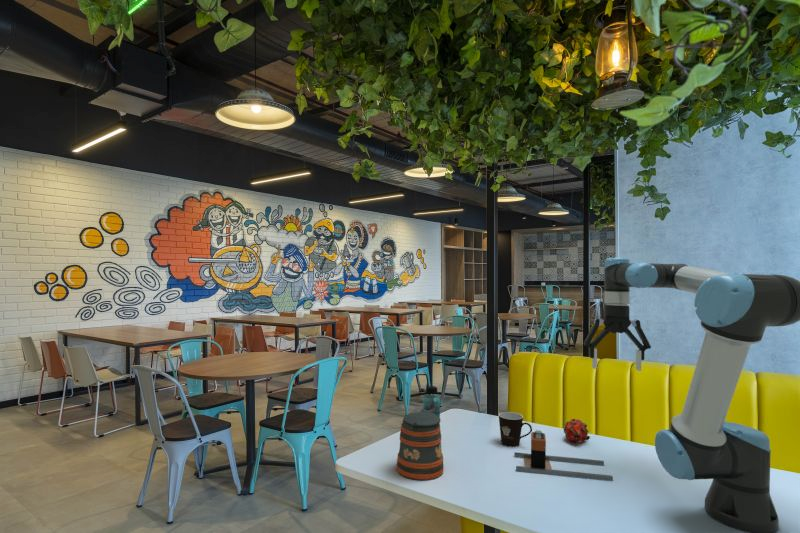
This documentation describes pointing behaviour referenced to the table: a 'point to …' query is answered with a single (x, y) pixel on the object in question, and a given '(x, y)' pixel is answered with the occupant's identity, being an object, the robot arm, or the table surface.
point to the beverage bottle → (436, 400)
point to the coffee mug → (511, 428)
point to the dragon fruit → (576, 431)
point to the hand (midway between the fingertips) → (616, 369)
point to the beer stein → (421, 445)
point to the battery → (538, 449)
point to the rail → (559, 472)
